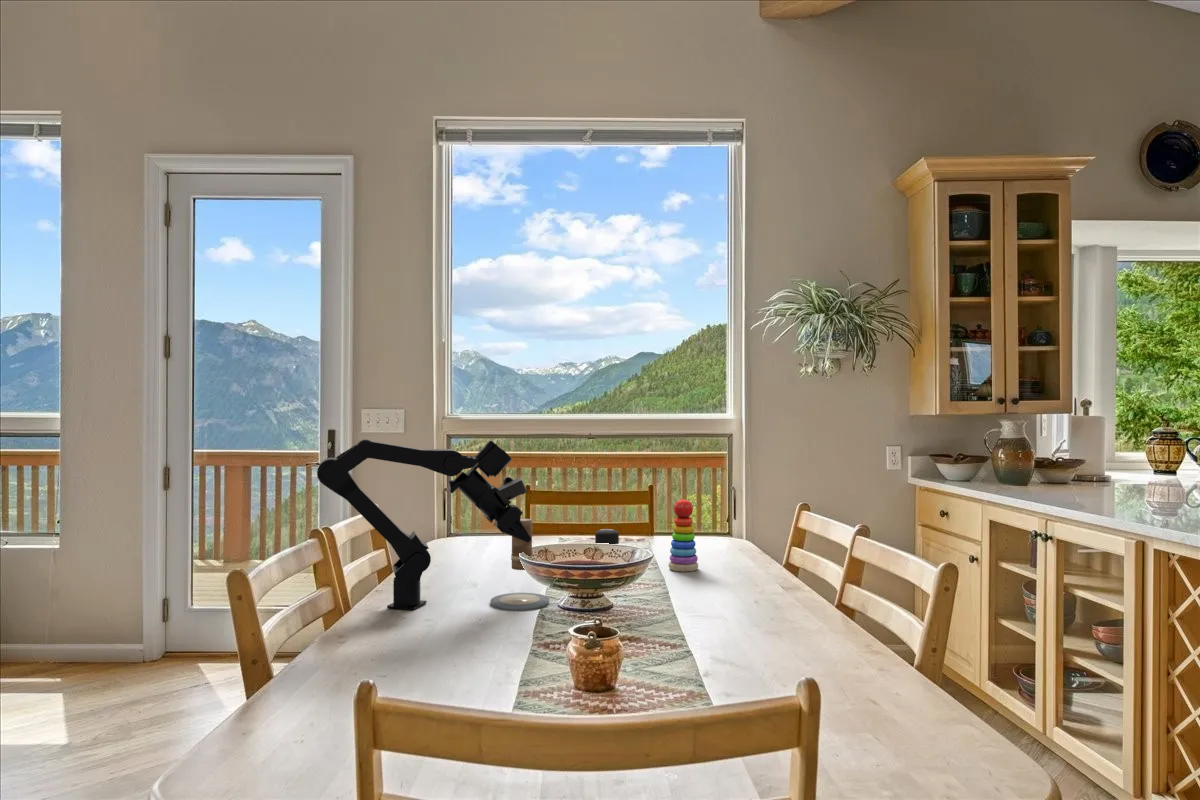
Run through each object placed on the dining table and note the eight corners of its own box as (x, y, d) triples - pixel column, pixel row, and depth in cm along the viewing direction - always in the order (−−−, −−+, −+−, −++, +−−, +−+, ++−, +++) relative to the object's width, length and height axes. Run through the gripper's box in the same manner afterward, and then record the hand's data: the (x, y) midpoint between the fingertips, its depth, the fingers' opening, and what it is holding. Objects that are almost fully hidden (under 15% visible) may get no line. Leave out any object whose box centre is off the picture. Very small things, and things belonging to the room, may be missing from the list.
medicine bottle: (620, 580, 204) (620, 532, 204) (592, 579, 204) (592, 532, 204) (620, 573, 211) (620, 527, 211) (593, 573, 211) (593, 527, 211)
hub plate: (537, 612, 173) (537, 608, 173) (481, 608, 176) (481, 604, 176) (556, 598, 185) (556, 594, 185) (503, 594, 189) (503, 590, 189)
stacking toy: (663, 567, 219) (663, 498, 219) (688, 565, 222) (688, 496, 222) (677, 573, 212) (678, 501, 211) (704, 570, 215) (704, 500, 215)
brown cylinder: (520, 571, 182) (521, 522, 182) (506, 567, 186) (507, 520, 186) (536, 568, 186) (536, 520, 186) (522, 564, 189) (523, 517, 189)
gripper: (513, 470, 176) (562, 519, 179) (498, 463, 194) (542, 508, 197) (476, 507, 173) (526, 556, 177) (464, 497, 191) (510, 542, 195)
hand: (527, 539), depth 186 cm, fingers closed on brown cylinder, 5 cm apart
